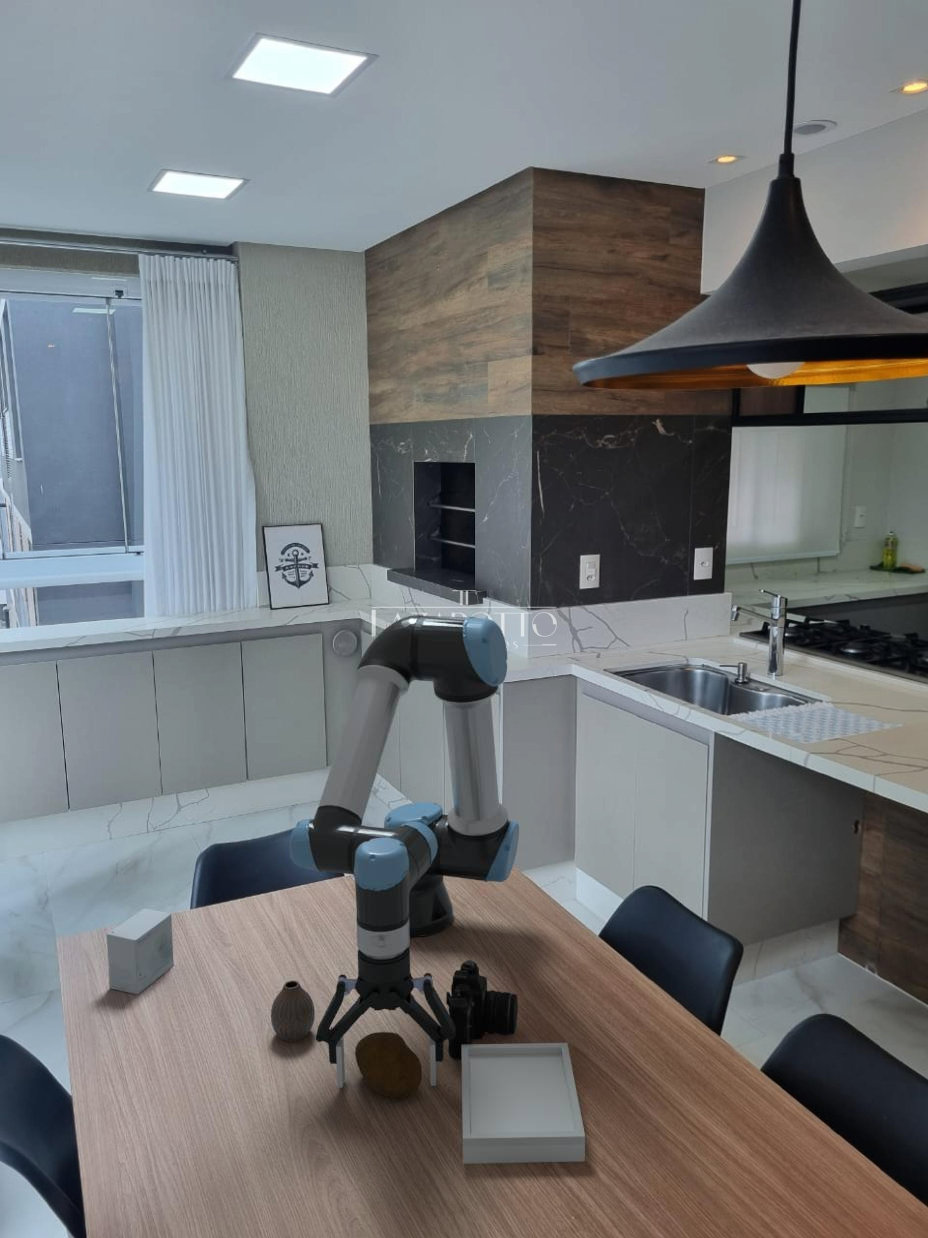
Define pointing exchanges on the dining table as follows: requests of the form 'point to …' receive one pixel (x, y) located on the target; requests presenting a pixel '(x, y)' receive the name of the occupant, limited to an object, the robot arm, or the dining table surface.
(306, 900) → the dining table surface
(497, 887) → the dining table surface
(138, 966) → the skincare box
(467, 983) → the camera
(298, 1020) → the vase
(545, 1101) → the tray
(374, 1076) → the potato
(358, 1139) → the dining table surface
